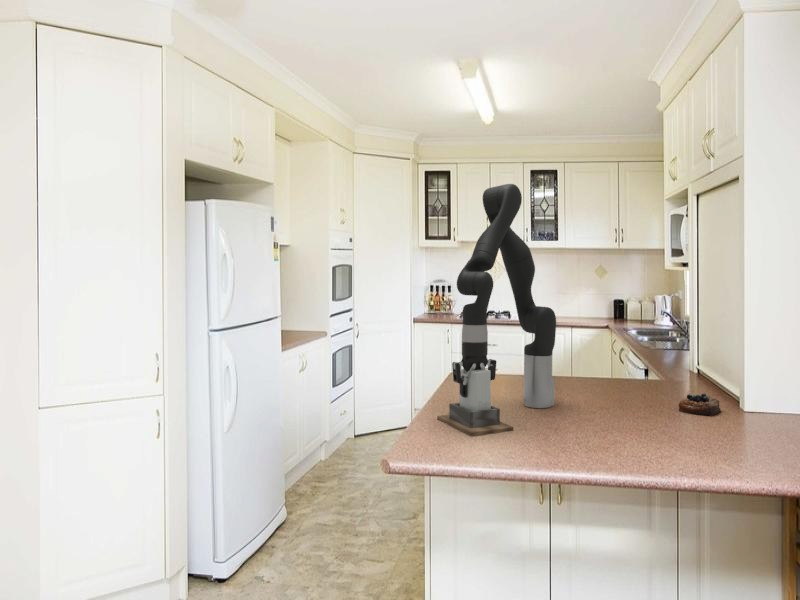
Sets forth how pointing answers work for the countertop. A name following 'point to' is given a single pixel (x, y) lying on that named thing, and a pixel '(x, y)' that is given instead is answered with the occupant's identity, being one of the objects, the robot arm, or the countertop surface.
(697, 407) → the pastry
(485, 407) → the skincare box
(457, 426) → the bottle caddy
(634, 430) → the countertop surface
